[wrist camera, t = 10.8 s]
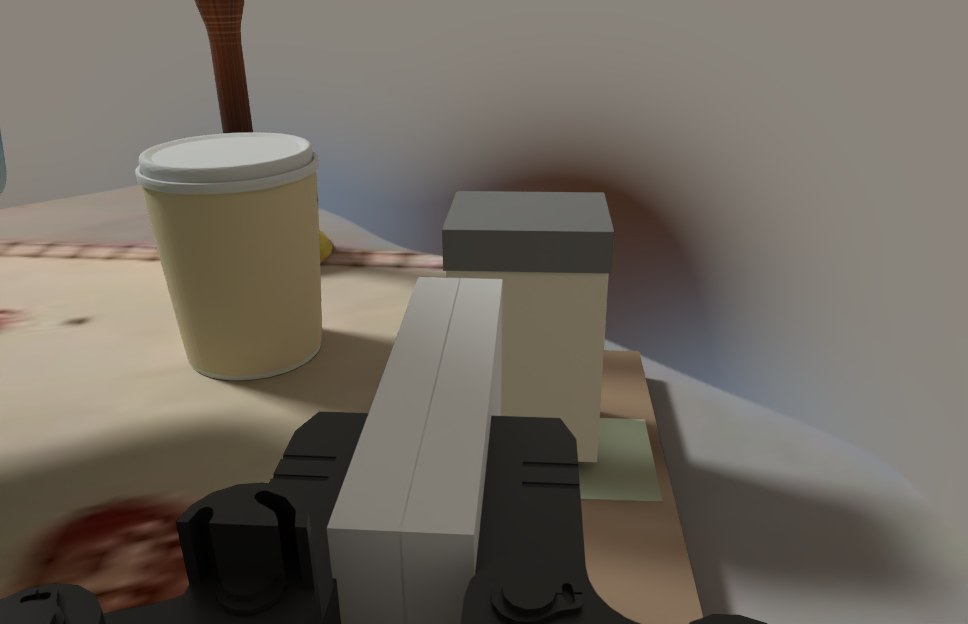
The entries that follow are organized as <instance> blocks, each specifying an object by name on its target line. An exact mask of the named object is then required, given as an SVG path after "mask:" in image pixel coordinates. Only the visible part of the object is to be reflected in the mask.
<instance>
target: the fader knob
mask: <svg viewBox="0 0 968 624" xmlns="http://www.w3.org/2000/svg"><path fill="white" fill-rule="evenodd" d="M613 239H614V231H613V227H612V222H611V218H610V214H609V211H608V207H607V203H606V199H605V195H604V193H582V192H581V193H580V192H579V193H577V192H575V193H574V192H477V191H457V193H456V195H455V198H454V200H453V203H452V205H451V208H450V211H449V213H448V216H447V218H446V221H445V223H444V226H443V229H442V242H443V271H446V272H447V278H477V279H503V283H502V369H501V416H518V417H546V418H561V419H562V421H563V422H564V423H565V425H566V426H567V427H568V429H569V430H570V431H571V433H572V434H573V435H574V437H575V438H576V440H577V453H578V462H597V454H598V437H599V421H600V404H601V387H602V371H603V354H604V338H605V321H606V304H607V287H608V273H611V272H612V255H613Z"/></svg>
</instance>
